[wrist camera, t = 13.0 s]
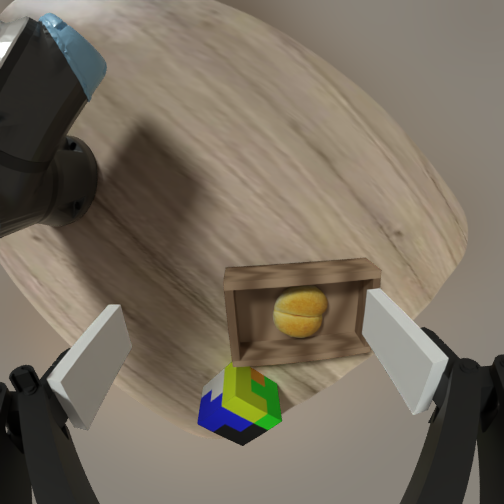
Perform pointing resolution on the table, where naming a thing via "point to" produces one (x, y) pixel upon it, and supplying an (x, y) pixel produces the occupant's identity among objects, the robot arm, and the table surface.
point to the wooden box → (263, 301)
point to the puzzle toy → (239, 404)
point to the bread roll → (299, 310)
